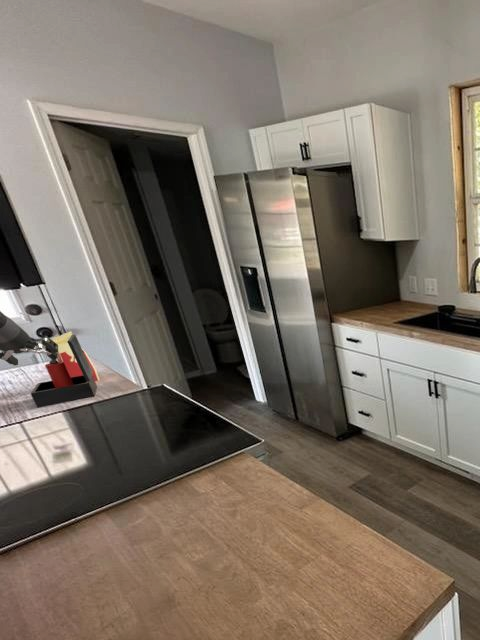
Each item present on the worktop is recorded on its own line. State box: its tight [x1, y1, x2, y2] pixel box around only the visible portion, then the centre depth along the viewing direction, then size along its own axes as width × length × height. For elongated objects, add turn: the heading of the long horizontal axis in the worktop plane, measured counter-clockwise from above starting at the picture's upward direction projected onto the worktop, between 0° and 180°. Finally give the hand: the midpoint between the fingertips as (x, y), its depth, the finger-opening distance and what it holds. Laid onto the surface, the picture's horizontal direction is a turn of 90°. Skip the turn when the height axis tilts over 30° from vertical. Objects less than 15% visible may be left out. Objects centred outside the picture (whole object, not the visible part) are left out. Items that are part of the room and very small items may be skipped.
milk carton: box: [49, 330, 100, 382], centre depth 154 cm, size 9×9×20 cm
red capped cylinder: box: [44, 359, 74, 388], centre depth 140 cm, size 4×4×13 cm
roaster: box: [30, 375, 98, 409], centre depth 141 cm, size 14×14×6 cm
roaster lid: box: [67, 334, 93, 382], centre depth 142 cm, size 14×14×1 cm
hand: (35, 360), depth 128 cm, fingers open, 8 cm apart
